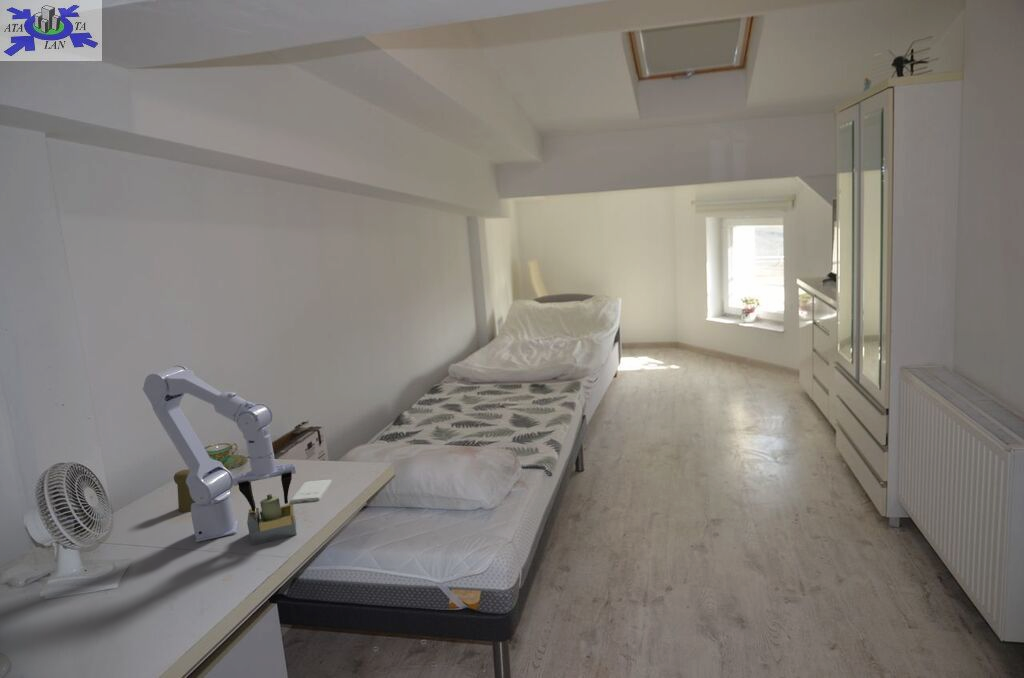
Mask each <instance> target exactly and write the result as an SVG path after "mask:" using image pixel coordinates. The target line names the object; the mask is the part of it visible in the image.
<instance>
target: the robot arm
mask: <svg viewBox="0 0 1024 678" xmlns="http://www.w3.org/2000/svg"><path fill="white" fill-rule="evenodd" d="M144 380H145V381H144V383H143V388H142V390H143V393H144V394H145V396H146V398H147V399H148V401H149V403H150V404H151V407H152V410H153V412H154V414H155V416H156V417H157V419H158V421H159V423H160V424H161V425H162V427H163V429H164V430H165V432H166V434H167V435H168V437H169V439H170V441H171V442H172V444H173V445H174V447H175V448H176V450H177V453H178V454H179V455H180V457H181V458H182V460H183V462H184V463H185V465H186V466H187V468H188V469H189V470H190V471H189V474H188V477H187V479H186V484H187V485H188V487H189V492H190V496H191V498H192V499H193V500H194V501H195V502H196V503H193V504H192V505H191V511H190V515H191V523H192V526H193V531H194V537H195V542H196V543H198V542H203V541H207V540H211V539H216V538H222V537H225V536H229V535H234V534H237V532H238V524H239V519H235V515H234V510H233V505H232V500H231V499H232V498H231V494H232V488H233V487H236V486H238V490H239V492H240V493H241V494H242V495H243V497H245V499H246V501H247V502H248V505H249V506H250V509H252V511H255V508H257V507H256V501H255V497H254V495H253V488H252V482H256V481H262V480H266V479H270V478H275V477H276V478H277V477H279V476H280V481H281V485H282V490H283V500H284V501H283V502H284V504H285V505H289V499H288V497H289V490H290V487H291V486H290V485H291V482H292V478H293V477H292V475H295V474H297V470H296V463H292V464H282V465H276V460H275V454H274V453H275V452H274V448H273V442H272V436H271V430H270V426H269V425H270V424H271V423H272V421H273V413H272V411H271V409H270V408H269V407H268V406H267V405H266V404H265V403H261V402H260V403H259V402H258V403H254V402H252V401H248V400H246V399H244V398H242V397H240V396H239V395H237V392H235V391H225V392H223V393H222V392H221V391H219V390H218V389H216V388H215V387H213V386H212V385H210V384H208V383H207V382H205V381H203V379H200V378H199V377H198V376H195V373H194V371H193V370H192V369H190V368H187V367H186V366H184V365H181V364H179V365H178V364H177V365H175V366H173V367H170V368H168V369H164V370H161V371H158V372H155V373H153V372H152V373H150V374H148V375H147V376H146V377H145V379H144ZM186 394H187V395H190V396H192V397H194V398H197V399H199V400H201V401H204V402H206V403H208V404H209V405H210V404H211V405H212V406H213V408H214V411H215V412H216V413H218V415H221V416H222V417H225V418H226V419H228V420H230V421H232V422H234V423H236V425H237V426H236V427H237V428H238V429H239V430H240V432H241V433H242V435H243V439H244V440H245V443H246V448H247V454H248V455H247V456H248V459H249V460H248V461H249V465H250V471H247V472H244V473H240V474H237V475H233V474H232V472H231V471H230V469H228V468H226V467H225V466H224V464H223V463H222V461H219V460H217V459H214V458H213V459H212V458H211V457H210V455H209V454H208V452H207V451H206V448H205V447H204V445H203V443H202V441H200V439H199V437H198V435H197V434H196V432H195V430H194V429H193V426H192V425H191V424H190V422H189V420H188V419H187V417H186V416H185V414H184V411H183V410H182V408H181V406H180V404H181V401H182V399H183V397H184V396H185V395H186Z"/></svg>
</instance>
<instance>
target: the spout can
mask: <svg viewBox="0 0 1024 678" xmlns="http://www.w3.org/2000/svg"><path fill="white" fill-rule="evenodd" d="M259 503H260V509H261V510H260V511H262V515H263V520H264V521H268V520H273V519H277V518H281V517H282V513H281V508H280V507H281V503H280V497H278V496H273V494H272V493H268V494H267V495H266V498H264V499H262V500H261V501H259Z"/></svg>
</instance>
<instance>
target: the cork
mask: <svg viewBox="0 0 1024 678" xmlns="http://www.w3.org/2000/svg"><path fill="white" fill-rule="evenodd" d="M189 471H190V470H189V469H187V468H186V469H182V470H180V471H177V472H176V473H174V476H173V481H174V482H175V484H176V485H177V487H176V488H177V501H178V502H177V503H178V512H180V513H188V512H191V505H192V504H193V503H196V502H195V501H194V500H193V499H192V498H191V496H190V492H189V487H188V485H187V484H186V479H187V477H188V474H189Z"/></svg>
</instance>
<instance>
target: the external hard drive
mask: <svg viewBox="0 0 1024 678" xmlns="http://www.w3.org/2000/svg"><path fill="white" fill-rule="evenodd" d="M332 483H333V479H323V480H322V479H321V480H310V481H305V482H303V484H302V485H301V487H300V488H299V489H298V490H297V492H296V493H295V494H294V496H293V497H292V498H291V499H290V504H296V503H295V502H298V503H303V502H302V501H306V502H308V501H309V502H319V501H321V499H322V498H323V496H324V495H325V494H326V492H327V491H328V489H329V488H330V487H331V485H332Z"/></svg>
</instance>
